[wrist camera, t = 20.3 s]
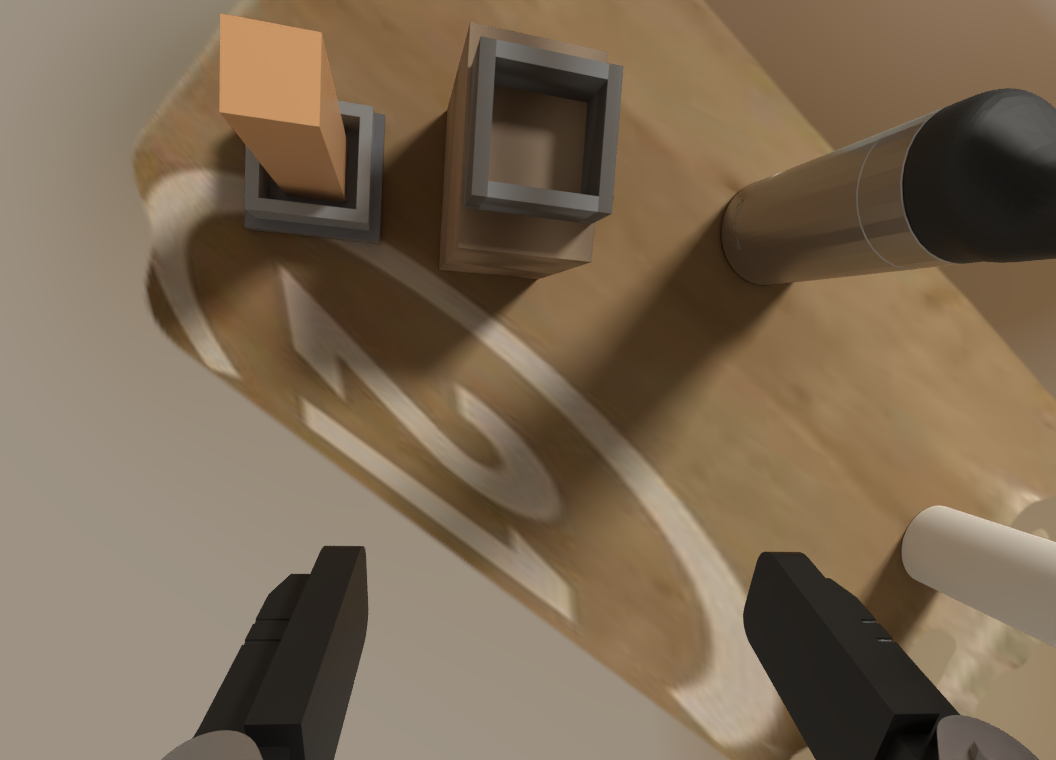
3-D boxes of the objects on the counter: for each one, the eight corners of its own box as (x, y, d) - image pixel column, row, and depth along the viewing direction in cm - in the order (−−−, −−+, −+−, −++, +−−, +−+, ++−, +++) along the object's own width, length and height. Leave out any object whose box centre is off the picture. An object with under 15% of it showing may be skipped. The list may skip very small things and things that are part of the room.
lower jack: (385, 120, 39) (384, 97, 35) (379, 243, 40) (378, 234, 36) (251, 98, 37) (235, 71, 33) (248, 229, 38) (231, 218, 34)
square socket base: (548, 127, 42) (630, 23, 28) (537, 279, 43) (611, 255, 29) (447, 109, 40) (479, -13, 26) (438, 269, 41) (465, 239, 27)
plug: (347, 145, 38) (321, 32, 23) (346, 202, 38) (319, 126, 24) (287, 136, 37) (220, 13, 22) (286, 195, 37) (219, 112, 23)
